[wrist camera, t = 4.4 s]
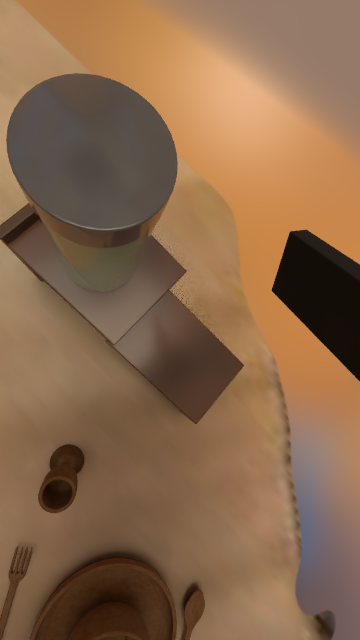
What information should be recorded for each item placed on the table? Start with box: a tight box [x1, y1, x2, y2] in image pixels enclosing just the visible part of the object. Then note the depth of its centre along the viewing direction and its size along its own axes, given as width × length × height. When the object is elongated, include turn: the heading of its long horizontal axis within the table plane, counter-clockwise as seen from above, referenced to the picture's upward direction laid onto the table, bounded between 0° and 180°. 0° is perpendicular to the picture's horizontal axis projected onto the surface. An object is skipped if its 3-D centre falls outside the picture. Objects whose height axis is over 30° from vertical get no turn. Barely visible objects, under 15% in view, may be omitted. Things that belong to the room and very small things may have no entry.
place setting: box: [0, 445, 205, 640], centre depth 23 cm, size 18×20×6 cm
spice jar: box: [6, 74, 178, 292], centre depth 13 cm, size 5×5×10 cm
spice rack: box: [0, 203, 244, 424], centre depth 23 cm, size 19×7×11 cm, turn 47°
